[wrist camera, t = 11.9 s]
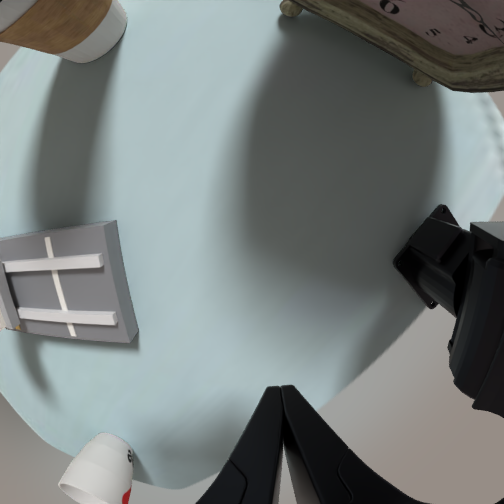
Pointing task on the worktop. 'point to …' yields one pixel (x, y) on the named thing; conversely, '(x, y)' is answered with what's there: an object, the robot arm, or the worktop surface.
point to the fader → (6, 304)
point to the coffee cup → (63, 26)
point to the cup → (100, 472)
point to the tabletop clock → (426, 36)
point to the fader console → (70, 283)
